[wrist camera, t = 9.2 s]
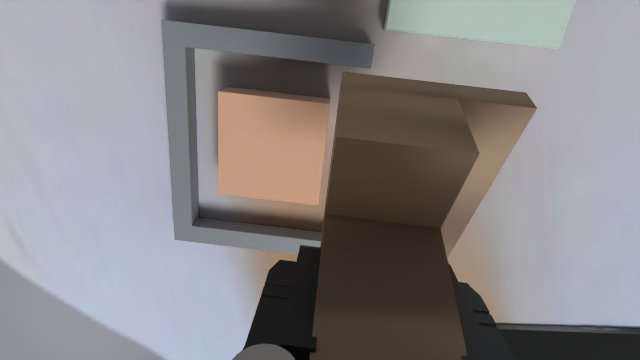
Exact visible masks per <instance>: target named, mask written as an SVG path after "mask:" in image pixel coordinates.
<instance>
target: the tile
mask: <svg viewBox="0 0 640 360" xmlns="http://www.w3.org/2000/svg"><path fill="white" fill-rule="evenodd" d="M329 108H330V98H321V97H313V96H304V95H295V94H287V93H278V92H269V91H260V90H252V89H243V88H234V87H228V88H226V89H223V90H220V91H218V184H219V194H225V195H233V196H242V197H251V198H260V199H268V200H277V201H286V202H294V203H303V204H312V205H318V203H319V194H320V185H321V177H322V168H323V160H324V151H325V142H326V134H327V125H328V116H329Z"/></svg>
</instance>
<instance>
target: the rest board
mask: <svg viewBox="0 0 640 360" xmlns="http://www.w3.org/2000/svg"><path fill="white" fill-rule="evenodd" d="M575 1H576V0H388V6H387V12H386V18H385V24H384V30H389V31H398V32H406V33H415V34H424V35H432V36H441V37H450V38H458V39H467V40H476V41H484V42H493V43H502V44H510V45H519V46H528V47H536V48H545V49H559V47H560V44H561V42H562V39H563V36H564V33H565V30H566V27H567V24H568V21H569V18H570V15H571V13H572V10H573V7H574V4H575Z"/></svg>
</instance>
